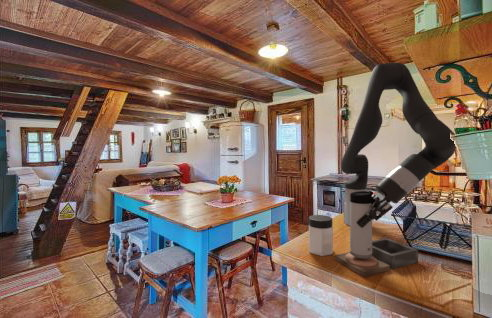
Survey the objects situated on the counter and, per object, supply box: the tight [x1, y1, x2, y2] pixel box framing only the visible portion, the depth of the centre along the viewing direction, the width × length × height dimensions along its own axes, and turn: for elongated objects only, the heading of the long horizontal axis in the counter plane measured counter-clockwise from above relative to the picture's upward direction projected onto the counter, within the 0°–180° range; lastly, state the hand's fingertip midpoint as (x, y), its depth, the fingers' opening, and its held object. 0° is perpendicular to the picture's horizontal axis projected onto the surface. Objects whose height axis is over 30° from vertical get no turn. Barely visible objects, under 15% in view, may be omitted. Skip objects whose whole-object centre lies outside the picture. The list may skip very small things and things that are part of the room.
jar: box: [307, 214, 334, 257], centre depth 88 cm, size 9×8×12 cm
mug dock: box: [334, 237, 419, 278], centre depth 80 cm, size 12×23×4 cm, turn 111°
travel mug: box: [349, 190, 374, 259], centre depth 77 cm, size 6×7×20 cm
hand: (355, 221), depth 77 cm, fingers closed on travel mug, 6 cm apart
